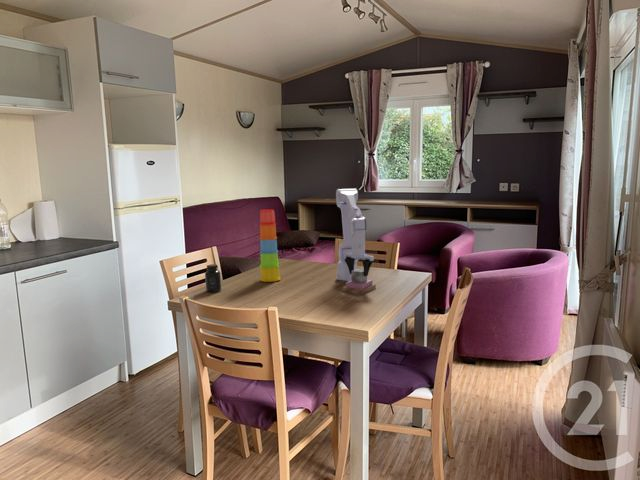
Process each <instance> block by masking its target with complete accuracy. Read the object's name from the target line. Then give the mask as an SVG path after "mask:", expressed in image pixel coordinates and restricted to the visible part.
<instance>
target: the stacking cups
mask: <svg viewBox="0 0 640 480" xmlns="http://www.w3.org/2000/svg"><path fill="white" fill-rule="evenodd" d="M275 215H276V214H275V211H274V209H260V211H259V220H260V223H259V233H260V234H259V235H260V236H259V242H260V243H259V245H260V246H259V247H260V251H259V254H260V264H259V267H260V275H261V277H260V278H259V280H260V282H263V283H264V282H265V283H268V282H271V283H273V282H277V281H278V282H279V281H280V280H281V279H282V277H280V263H279V256H278V255H279V254H278V253H279V250H278V242H277V239H278V236H277V230H276V225H277V223H276V216H275Z"/></svg>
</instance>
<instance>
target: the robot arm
mask: <svg viewBox="0 0 640 480" xmlns="http://www.w3.org/2000/svg"><path fill="white" fill-rule="evenodd" d="M335 200H336V201H335V202H336V206H337V207H338V208H339V209H340V211H341V225H342V237H343V241H342V243H340V244H339V246H338V251H337V252H338V253H337V255H338V256H337V257H338V259H339V261H338V262H337V264H336V278H335V280H339V281H344V282H349V281H351V280H352V270H355V269H358V268H357V267H358V264H357V263H358V262H359V260H362V262H361V263H362V266H363V270H364V276H367V277H368V275H369V272H370V270H371V267H372V265H373V263H374V259H375V256H374V255H371V254H370V255H369V254H367V253H366V230H367V226H368V225H367V224H368V222H367V218H366V217H365V216H363V215H362V211H361V208H360V207H358V206H357V201H358V200H359V191H358V189H357V188H356V187H355V188H341V189H340V188H337V189H336V191H335Z"/></svg>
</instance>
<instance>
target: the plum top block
mask: <svg viewBox="0 0 640 480" xmlns="http://www.w3.org/2000/svg"><path fill="white" fill-rule="evenodd" d="M372 284H373V280H372V279H369V278H367V281H366V282H363V283H357V282H352V280H351V281H346V282H345V286H346V287H348V288H355V289H361V290H362V289H364V288H366V287H368V286H370V285H372Z"/></svg>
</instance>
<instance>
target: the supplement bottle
mask: <svg viewBox="0 0 640 480" xmlns="http://www.w3.org/2000/svg"><path fill="white" fill-rule="evenodd" d="M206 270H207V271H206V272H205V273H204V275H205V276H204V280H205V281H204V282H205V291H206V292H207V293H211V294H212V293H213V294H215V293H219V292H221V290H222V279H221V276H222V275H221V272H220V270H219V268H218V264H215V263H214V264H208V265H207V264H206Z"/></svg>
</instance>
